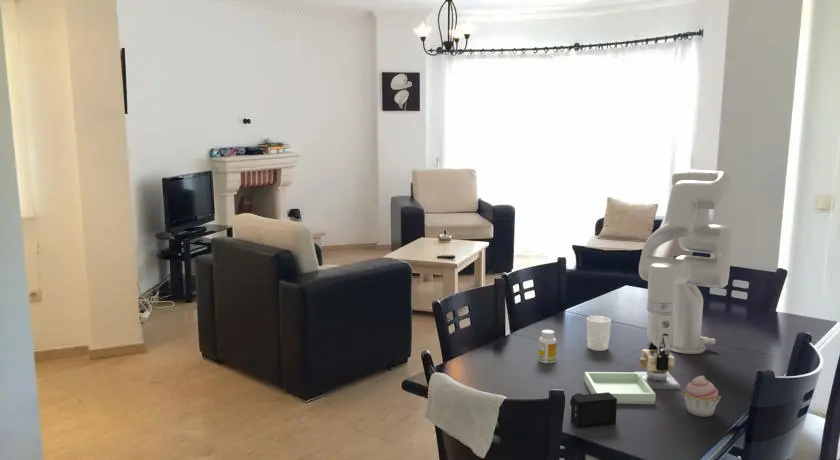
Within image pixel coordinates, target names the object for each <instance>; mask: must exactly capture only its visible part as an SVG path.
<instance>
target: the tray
mask: <svg viewBox="0 0 840 460" xmlns="http://www.w3.org/2000/svg"><path fill="white" fill-rule="evenodd" d="M638 372H639V371H634V372H624V371H621V372H619V371H584V377H583V379H584V383H585V385H586V386H587V388H588V390H589V391H590V394H595V393H606V392H609V393H610V394H612V395H613V396H614V397H615V398H617V405H618V404H629V405H630V404H631V405H633V404H634V405H638V404H639V405H643V404H644V405H655V404H656V395H657V394H656V393H655V391H654V389H651V388H650V386H649V385H648V384H647V383H646V381H645V380H644V379H643V378H642V376H641V375H640V374H639V373H638Z"/></svg>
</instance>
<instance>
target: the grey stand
mask: <svg viewBox="0 0 840 460" xmlns="http://www.w3.org/2000/svg"><path fill="white" fill-rule="evenodd" d="M653 356H658V352H654V354H653ZM637 372H638V373H639V374H640V375H641V376H642V378H643V379H644V380H645V381H646V383H647V384H648V385H649V386H650V388H651V389H652V390H681V389H680V388H681V385H680V384H679V382H678V381H677V380H676V379H675V378H674V377H673V376H672V375H671V374H670V372H669V371H649V370H648V369H647V368H646V371H637Z"/></svg>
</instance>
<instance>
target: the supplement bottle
mask: <svg viewBox="0 0 840 460" xmlns="http://www.w3.org/2000/svg"><path fill="white" fill-rule="evenodd" d="M556 360H557V339H556V338H555V331H554V330H552V329H543V330H541V336H540V337H539V339H538V361H539V362H540V363H543V364H554V363H555V362H556Z"/></svg>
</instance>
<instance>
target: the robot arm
mask: <svg viewBox="0 0 840 460" xmlns="http://www.w3.org/2000/svg"><path fill="white" fill-rule="evenodd" d="M671 183H672V184H671V185H672V186H671V190H670V195H669V200H668V203H667V208H666V213H665V218H664V222H663V224H662V226H660V227H659V228H657V229H656V230H655V231H654V232H653V233H651V235H650V236H649V237H648V238H647V239H646V241H645V243H644V244H643V247H642V251H641V255H640V260H639V263H638V275H639V276H640V278H641V280H643V281H647V298H646V299H647V301H646V310H647V312H648V315H647V316H648V317H647V326H646V328H647V331H646V333H647V334H646V335H647V339H648V344H647V345H648V348H647V349H657V350H658V356H657V362H656V369H657V370H668V361H669V353H670V354H671V351H672V352H674V353H679V354H685V355H697V354H698V355H699V354H702V353H704V352H705V351H706V345H716V344H717V343H716V339H715V338H709V337H708V336H703V335H702V324H703V311H704V310H703V309H704V308H703V307H704V297H703V294H702V292H701V291H700V289H699V288H698V287H706V288H713V289H714V288H715V289H723V288H725V287H726V286H727V285H728V283H729V279H730V270H731V269H730V268H731V259H732V258H731V256H732V247H733V246H732V245H733V236H732V231H731V229H730V227H728V226H727V225H724V224H715V223H714V224H713V223H709V216H710V215H709V214H710V210H717V209H719V208H720V207H721V205H722V204H723V202H724V201H725V200H726V197H727V196H728V195H729V192H730V190H731V186H732V185H731V184H732V180H731V176H730V174H729V173H728V172H727V171H723V170H709V169H707V170H706V169H704V170H703V169H681V170H676V171H675V172H674V173H673V174H672V176H671ZM676 239H678V245H679V247H680V249H682V250H683V251H687V252H692V253H693V252H694V253H701V254H704V253H705V254H709V255H710V254H711V255H713V256H714V257H707V256H699V255H686V254H685V255H678V256H676V257H675V258H671V257H661V256H654V254H655V251H656V250H657V249H658V248H659V247H660V246H662V245H664V244H665V243H668V242H671V241H673V240H676ZM661 349H664V350H662V352H661Z"/></svg>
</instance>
